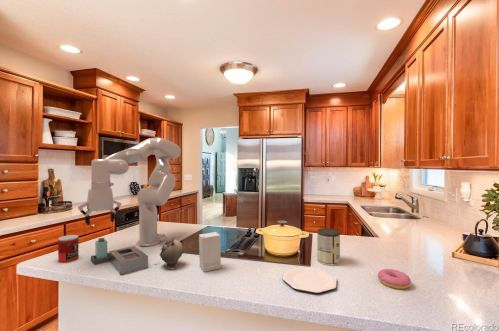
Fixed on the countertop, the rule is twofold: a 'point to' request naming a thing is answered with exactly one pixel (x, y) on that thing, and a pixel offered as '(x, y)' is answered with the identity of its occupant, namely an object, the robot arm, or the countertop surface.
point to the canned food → (68, 248)
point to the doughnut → (394, 279)
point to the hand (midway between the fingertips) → (100, 222)
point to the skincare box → (209, 251)
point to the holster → (102, 260)
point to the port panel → (128, 259)
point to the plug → (101, 248)
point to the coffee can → (328, 246)
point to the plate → (310, 280)
